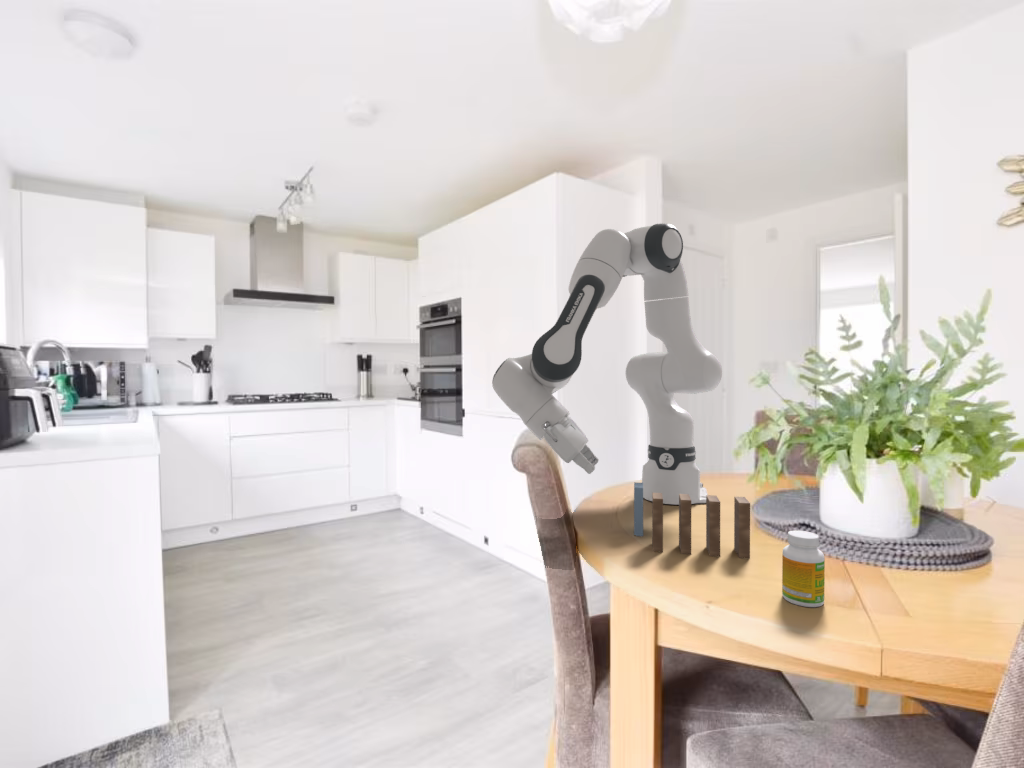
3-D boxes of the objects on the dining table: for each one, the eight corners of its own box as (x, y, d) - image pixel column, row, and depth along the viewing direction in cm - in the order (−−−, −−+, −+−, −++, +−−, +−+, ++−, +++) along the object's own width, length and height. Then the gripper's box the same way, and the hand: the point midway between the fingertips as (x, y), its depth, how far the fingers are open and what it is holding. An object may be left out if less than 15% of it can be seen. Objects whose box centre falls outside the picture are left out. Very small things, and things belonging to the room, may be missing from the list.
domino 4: (709, 555, 95) (709, 501, 95) (706, 546, 100) (706, 495, 100) (720, 556, 94) (720, 501, 94) (716, 547, 99) (716, 495, 99)
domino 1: (634, 535, 107) (634, 487, 107) (634, 528, 112) (634, 482, 112) (643, 536, 106) (643, 487, 106) (643, 529, 111) (643, 482, 111)
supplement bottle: (821, 611, 72) (822, 542, 72) (778, 601, 76) (779, 535, 76) (826, 598, 77) (826, 533, 77) (785, 589, 80) (786, 526, 80)
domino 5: (739, 558, 94) (739, 502, 94) (734, 548, 99) (734, 496, 98) (749, 558, 93) (750, 503, 93) (744, 549, 98) (744, 496, 98)
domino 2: (652, 551, 97) (653, 498, 97) (652, 543, 102) (652, 492, 102) (662, 552, 97) (663, 498, 97) (661, 543, 102) (661, 492, 101)
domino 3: (680, 553, 96) (681, 499, 96) (678, 545, 101) (679, 493, 101) (691, 554, 96) (691, 500, 95) (688, 545, 100) (688, 494, 100)
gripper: (551, 414, 103) (601, 465, 100) (565, 407, 122) (608, 450, 120) (529, 436, 104) (578, 487, 102) (547, 426, 124) (588, 468, 121)
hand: (594, 467), depth 111 cm, fingers open, 8 cm apart
